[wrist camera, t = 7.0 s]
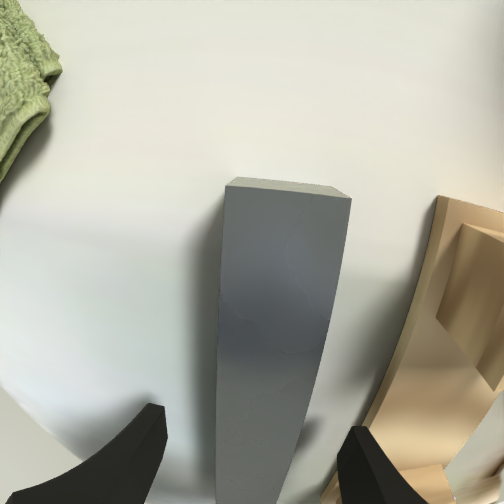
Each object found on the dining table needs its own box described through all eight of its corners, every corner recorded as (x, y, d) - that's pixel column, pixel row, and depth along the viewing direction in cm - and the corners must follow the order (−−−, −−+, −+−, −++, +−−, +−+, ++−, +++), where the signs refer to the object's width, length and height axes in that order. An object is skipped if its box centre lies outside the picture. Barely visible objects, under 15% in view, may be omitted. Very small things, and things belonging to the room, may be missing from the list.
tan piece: (418, 486, 15) (433, 540, 10) (320, 496, 15) (323, 560, 10) (552, 229, 9) (627, 266, 4) (438, 194, 9) (539, 232, 4)
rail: (269, 486, 16) (267, 524, 13) (221, 482, 16) (216, 520, 13) (329, 185, 10) (351, 198, 7) (238, 176, 10) (225, 185, 7)
